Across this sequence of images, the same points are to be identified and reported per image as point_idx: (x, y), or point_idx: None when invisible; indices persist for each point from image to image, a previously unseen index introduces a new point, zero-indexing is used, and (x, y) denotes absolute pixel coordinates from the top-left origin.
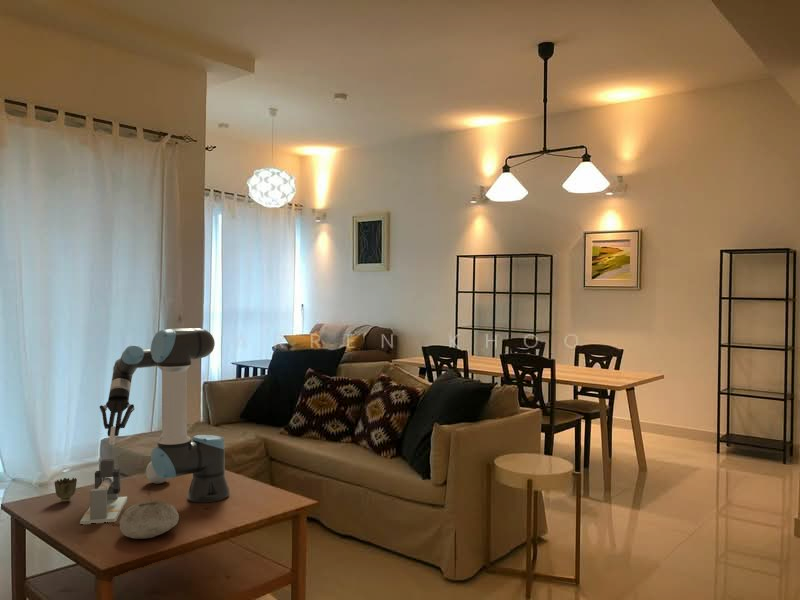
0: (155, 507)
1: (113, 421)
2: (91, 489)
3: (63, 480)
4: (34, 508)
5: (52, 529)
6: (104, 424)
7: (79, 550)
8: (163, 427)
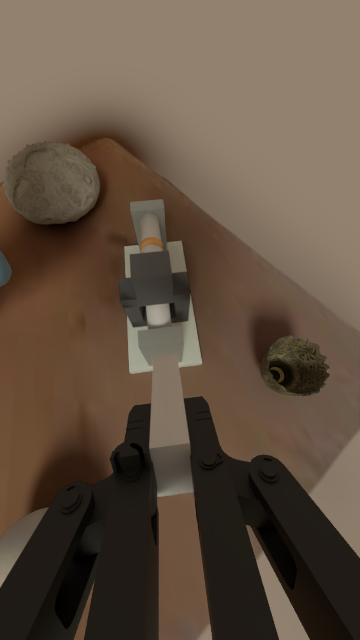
0: (29, 148)
1: (210, 621)
2: (163, 207)
3: (316, 389)
4: (317, 335)
5: (217, 232)
6: (273, 461)
7: (148, 171)
8: None
